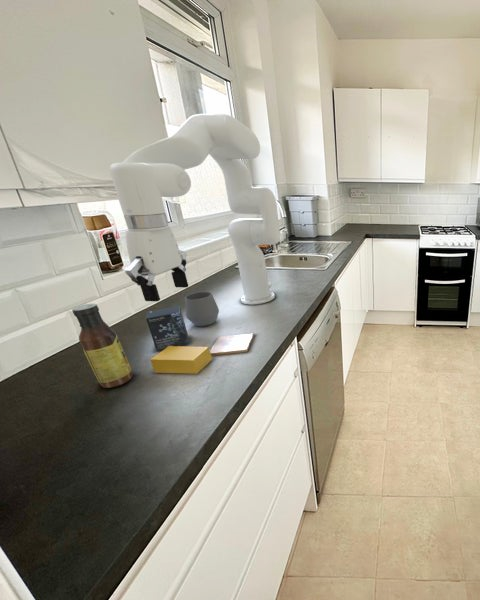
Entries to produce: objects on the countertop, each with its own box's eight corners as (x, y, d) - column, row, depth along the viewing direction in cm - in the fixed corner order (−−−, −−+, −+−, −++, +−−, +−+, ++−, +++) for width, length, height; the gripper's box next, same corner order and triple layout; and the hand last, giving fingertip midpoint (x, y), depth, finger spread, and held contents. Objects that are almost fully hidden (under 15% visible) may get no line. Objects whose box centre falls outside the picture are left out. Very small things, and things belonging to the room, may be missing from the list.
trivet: (219, 338, 96) (218, 336, 95) (254, 335, 98) (253, 333, 97) (208, 356, 86) (207, 353, 86) (247, 351, 89) (246, 349, 88)
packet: (172, 358, 85) (168, 346, 84) (212, 359, 85) (208, 346, 83) (154, 372, 79) (150, 359, 78) (197, 373, 79) (193, 360, 77)
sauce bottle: (140, 376, 78) (112, 303, 70) (111, 392, 72) (78, 314, 65) (122, 371, 80) (93, 299, 72) (93, 386, 74) (58, 310, 67)
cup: (186, 331, 100) (178, 302, 96) (191, 319, 108) (184, 292, 104) (220, 326, 103) (213, 298, 100) (222, 315, 111) (216, 289, 107)
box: (156, 352, 88) (145, 318, 84) (157, 343, 93) (146, 311, 89) (189, 344, 92) (179, 311, 88) (188, 336, 97) (179, 305, 93)
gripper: (160, 217, 78) (178, 282, 85) (95, 228, 62) (123, 307, 69) (189, 217, 78) (205, 282, 84) (131, 228, 62) (156, 307, 68)
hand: (168, 293), depth 76 cm, fingers open, 9 cm apart
